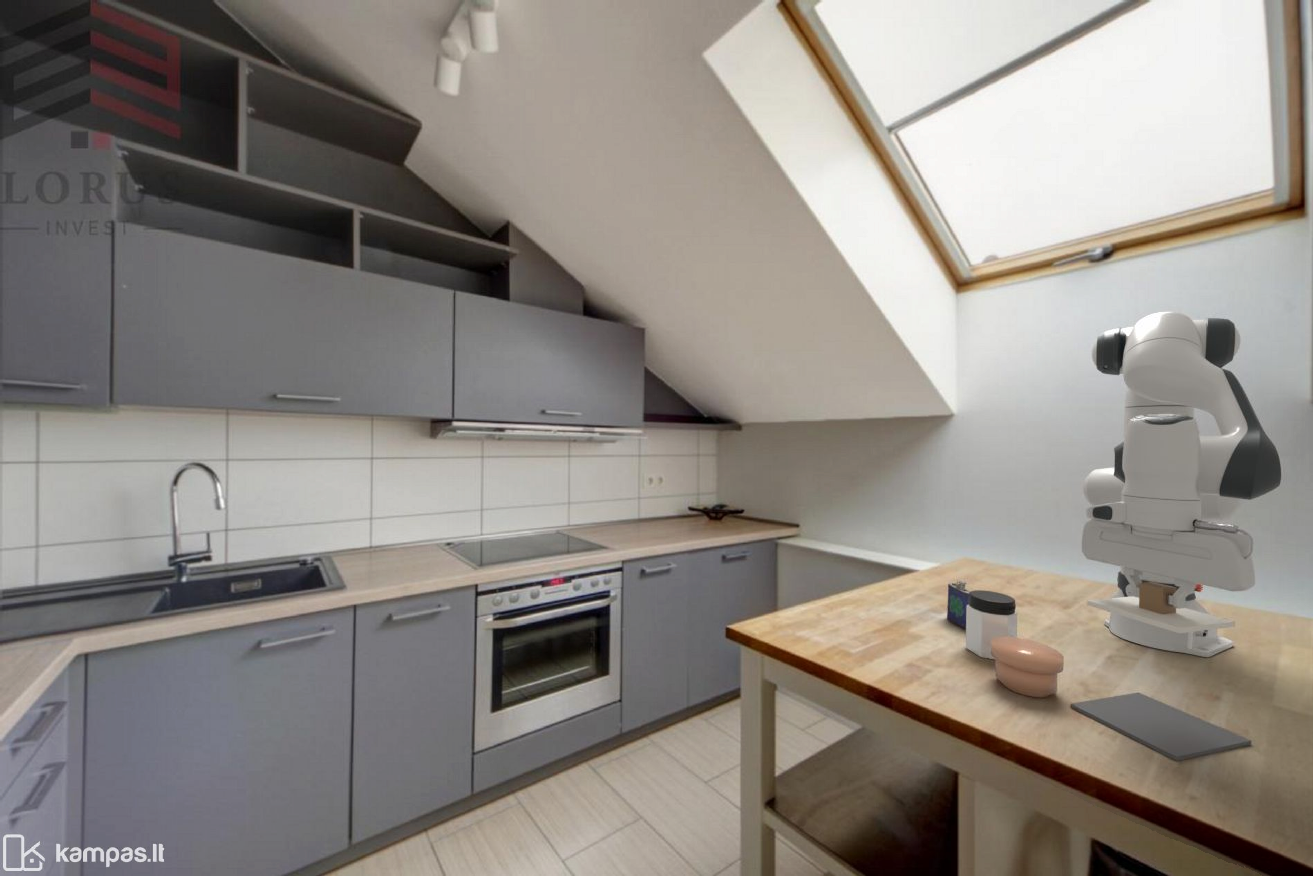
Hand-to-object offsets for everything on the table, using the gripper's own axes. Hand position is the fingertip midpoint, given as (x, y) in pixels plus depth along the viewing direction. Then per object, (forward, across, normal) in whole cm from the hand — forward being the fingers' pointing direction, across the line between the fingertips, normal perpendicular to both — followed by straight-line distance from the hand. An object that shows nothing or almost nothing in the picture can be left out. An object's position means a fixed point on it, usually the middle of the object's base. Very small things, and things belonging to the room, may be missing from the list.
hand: (1157, 602), depth 78 cm
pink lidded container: (+20, +14, +9) cm, 26 cm away
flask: (+20, +41, -5) cm, 46 cm away
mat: (+20, 0, 0) cm, 20 cm away
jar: (+20, +27, +2) cm, 34 cm away
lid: (+2, 0, 0) cm, 2 cm away
